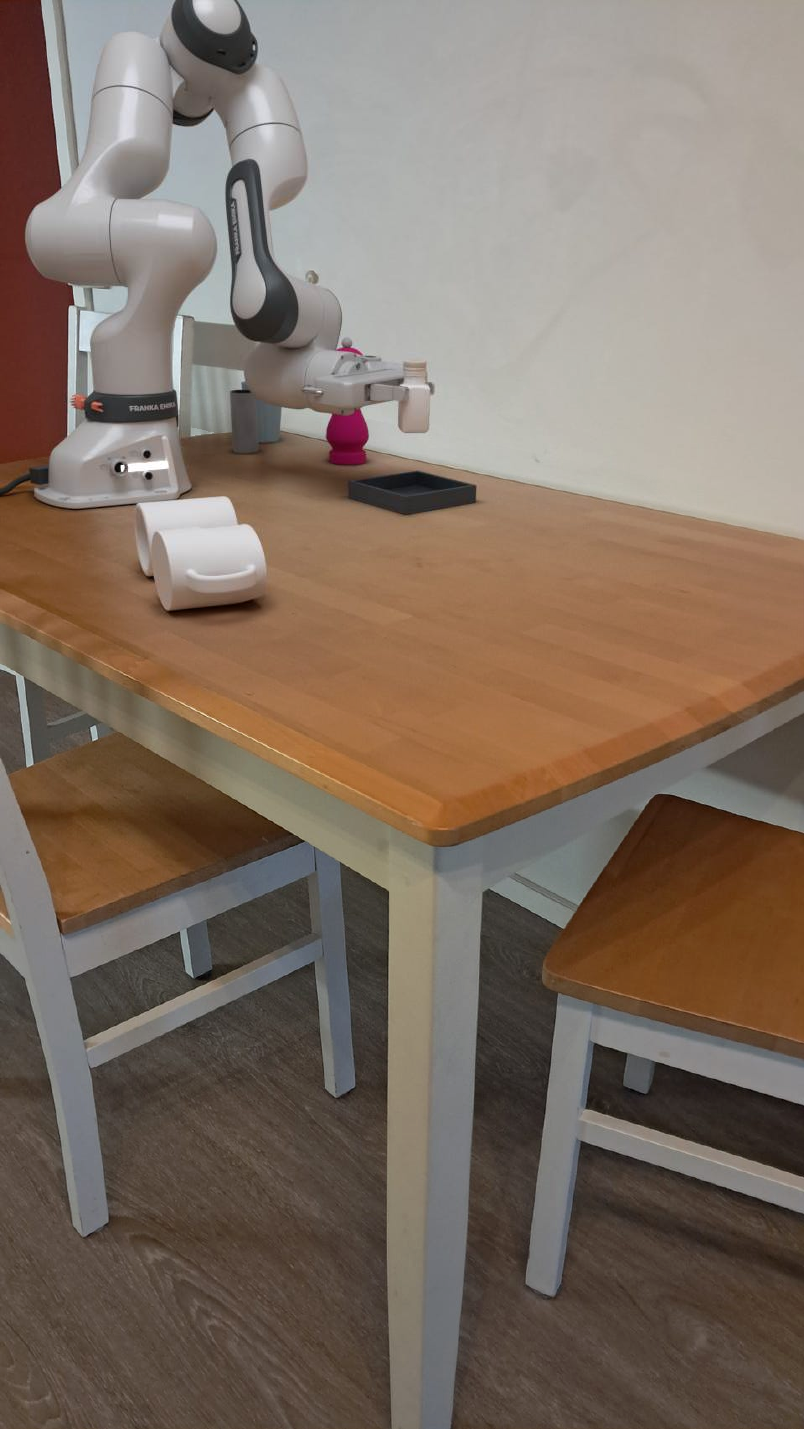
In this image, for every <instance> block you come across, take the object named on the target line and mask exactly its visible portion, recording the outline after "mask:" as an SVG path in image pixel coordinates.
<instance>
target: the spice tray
mask: <svg viewBox="0 0 804 1429" xmlns="http://www.w3.org/2000/svg"><path fill="white" fill-rule="evenodd" d="M477 488H478V487H477V484H473V483H469V482H465V481H461V480H457V479H453V478H449V477H445V476H441V475H437V474H433V473H429V472H425V471H421V470H412V471H404V472H397V473H390V474H386V475H385V474H383V475H377V476H370V477H364V478H359V479H358V478H357V479H351V480H350V479H349V480H347V497H348V499H350V500H354V501H357V502H361V503H364V504H367V505H370V506H371V505H372V506H374V507H377V508H382V509H384V510H388V511H391V512H395V513H398V514H401V515H405V516H407V515H412V514H419V513H424V512H429V511H436V510H440V509H441V510H442V509H446V508H452V507H458V506H463V505H469V504H475V503H476V502H477Z"/></svg>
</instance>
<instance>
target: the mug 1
mask: <svg viewBox="0 0 804 1429" xmlns="http://www.w3.org/2000/svg"><path fill="white" fill-rule="evenodd" d="M133 513H134V514H133V529H134V530H133V532H134V539H135V547H136V553H137V557H138V560H139V564H140V567H141V569H142V572H143V574H144V575H145V576H146V577H154V574H153V567H152V553H151V548H152V538H153V535H154V533H155V532H156V531H162V530H171V529H179V528H188V527H196V526H198V527H200V528H204V529H207V528H215V527H224V526H232V525H239V522H238V518H237V513H236V511H235V507H234V504H233V503H232V501H231V500H230V498H229V497H227V496H225V495H223V496H222V495H221V496H207V497H197V498H183V499H174V500H164V501H153V502H143V503H136V505H135V507H134V512H133Z"/></svg>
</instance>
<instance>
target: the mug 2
mask: <svg viewBox="0 0 804 1429" xmlns="http://www.w3.org/2000/svg"><path fill="white" fill-rule="evenodd" d="M151 553H152V567H153V574H154V576H153V579H154V583H155V584H154V585H155V588H156V591H157V595H158V598H159V601H160V603H161V605H162V607H163V608H164V609H165V610H166V611H168V612H169V611H178V610H179V611H180V610H188V609H198V608H199V609H200V608H209V607H217V606H227V605H233V604H234V605H235V604H240V603H245V602H248V601H250V600H257V599H260V598H262V597H263V595H264V594H265V591H266V587H267V580H268V579H267V578H268V577H267V576H268V575H267V574H268V573H267V572H268V571H267V563H266V557H265V552H264V548H263V545H262V543H261V540H260V537H259V536H258V534H257V532H256V530H255V529H254V528H253V527H252V526H251V525H249V524H247V523H241V524H238V525H232V526H224V527H215V528H207V529H204V528H200V527H198V526H196V527H188V528H179V529H171V530H162V531H156V532H155V533H154V535H153V538H152V548H151Z"/></svg>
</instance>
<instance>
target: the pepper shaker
mask: <svg viewBox="0 0 804 1429" xmlns="http://www.w3.org/2000/svg"><path fill="white" fill-rule="evenodd" d="M402 362H403V363H402V364H403V375H404V383H403V384H401V385H399V386H406V387H408V388H409V399H408V400H404V401H397V402H398V403H397V407H398V409H397V427H398V429H399V430H400V432H402V433H404V434H427V433H428V432H429V430H430V414H431V412H430V411H431V395H430V387H429V386H428V385H427V384H426V383H425V377H426V371H427V362H428V361H427V360H424V359H404V360H403V361H402Z"/></svg>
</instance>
